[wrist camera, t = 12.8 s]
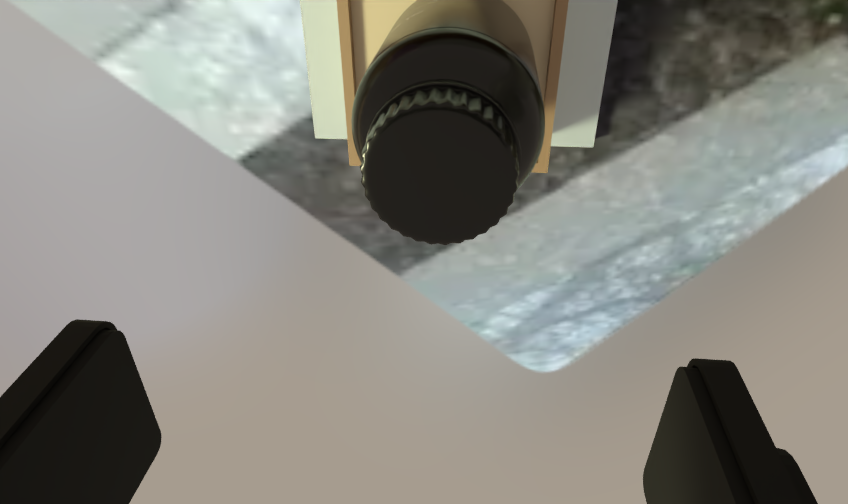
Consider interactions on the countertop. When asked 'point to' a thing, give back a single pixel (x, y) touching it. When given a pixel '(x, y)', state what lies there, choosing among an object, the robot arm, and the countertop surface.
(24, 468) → the robot arm
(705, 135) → the countertop surface
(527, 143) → the supplement bottle
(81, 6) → the countertop surface
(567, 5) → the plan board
